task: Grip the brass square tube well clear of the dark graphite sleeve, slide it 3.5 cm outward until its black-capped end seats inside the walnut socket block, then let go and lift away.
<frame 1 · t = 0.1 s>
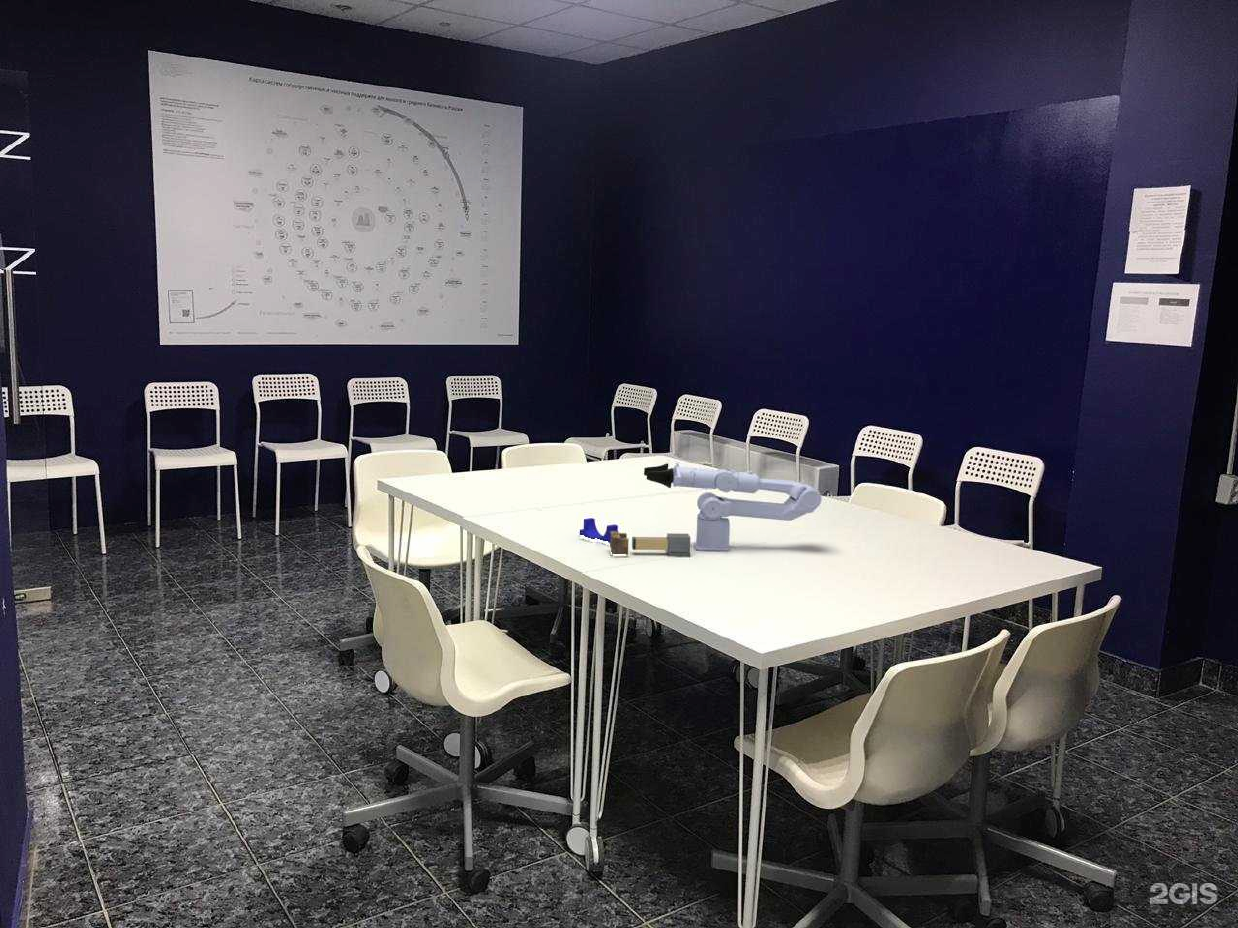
hand: (645, 473, 286), 22 cm above the table, tool horizontal, fingers open, 7 cm apart
cable clip: (598, 543, 294), on the table
sleeve: (677, 554, 282), on the table
socket block: (618, 553, 281), on the table
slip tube: (658, 543, 281), point 3 cm above the table, slide at 0.0 cm
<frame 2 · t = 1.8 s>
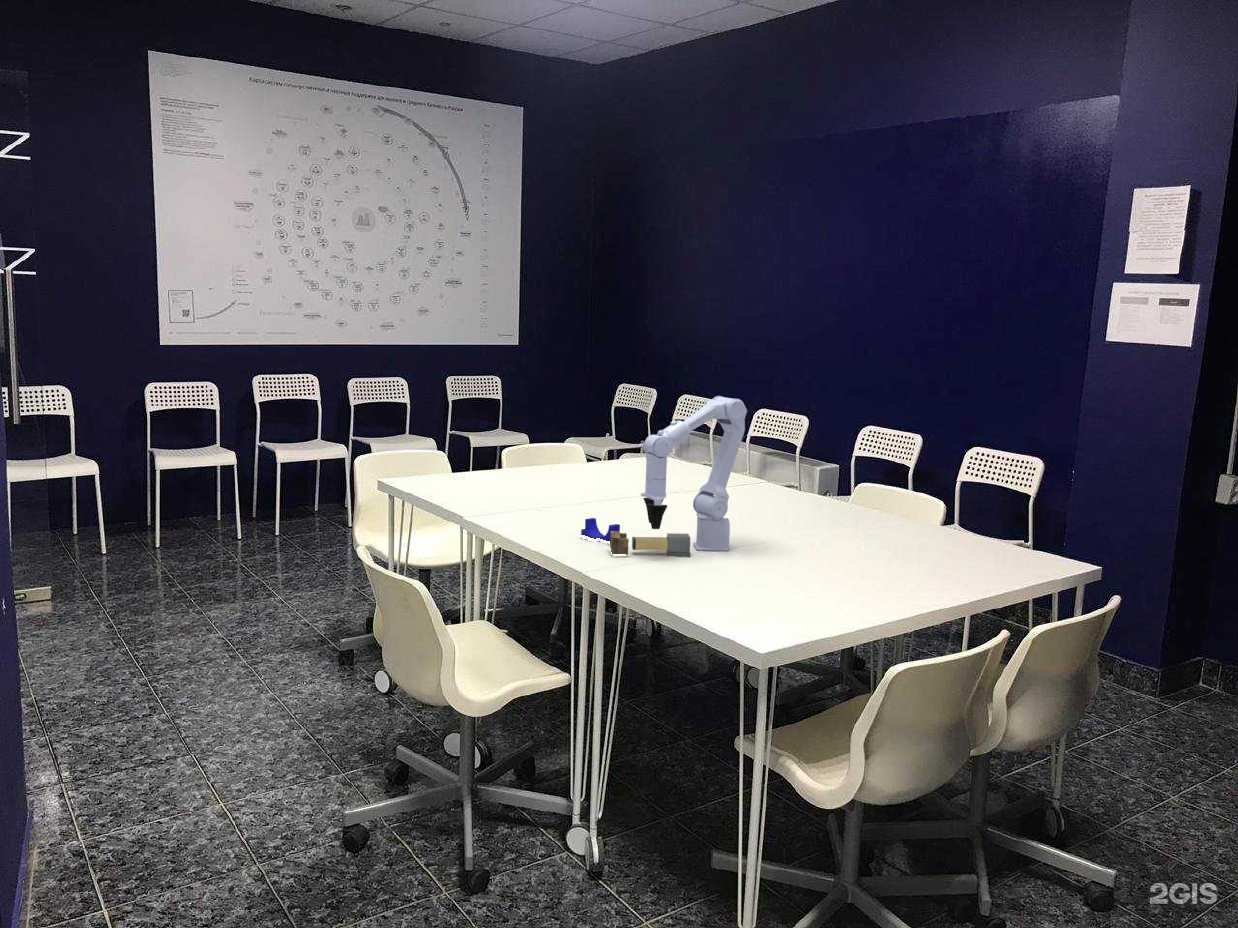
hand: (654, 525, 280), 8 cm above the table, tool pointing down, fingers open, 7 cm apart
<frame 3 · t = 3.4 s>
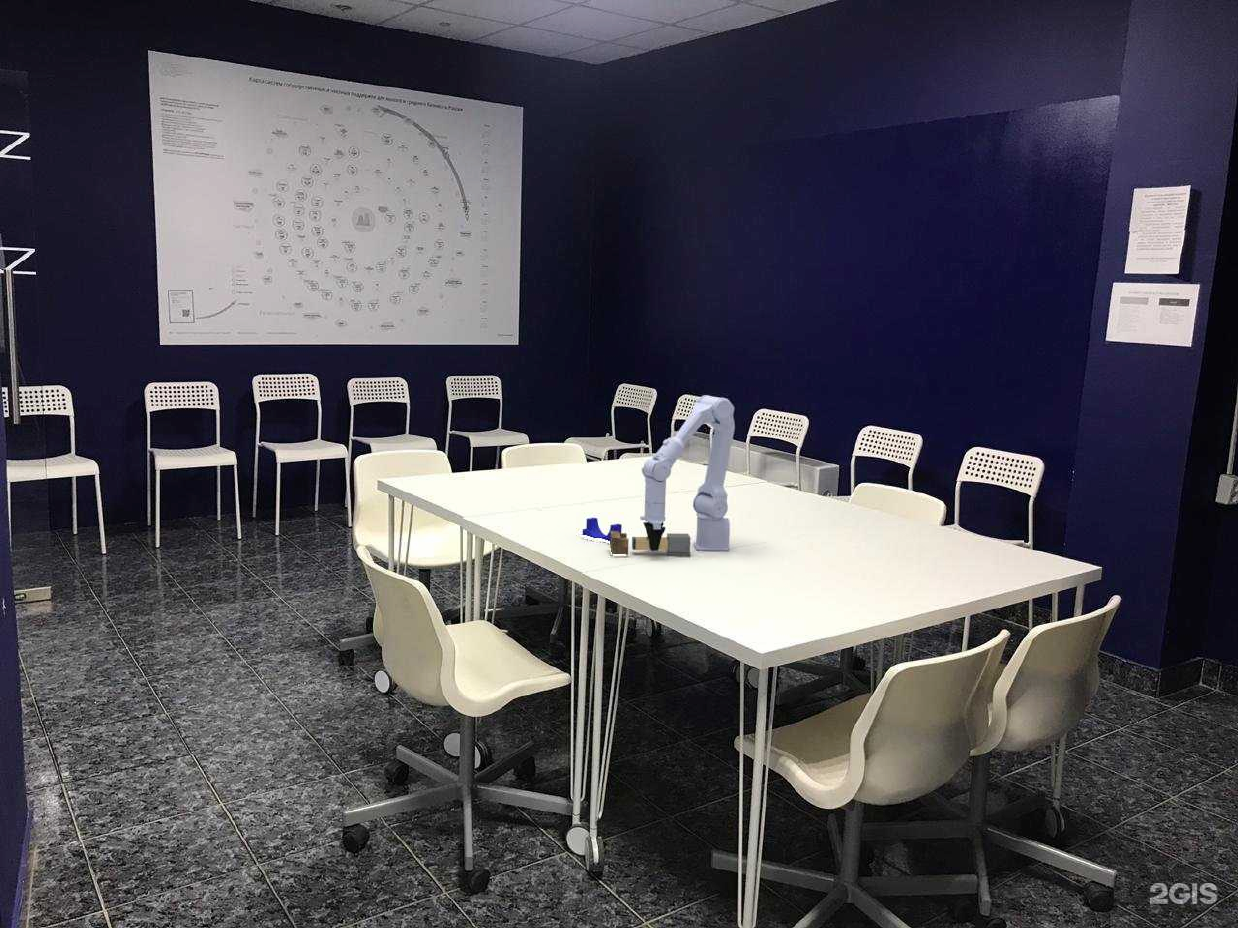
hand: (653, 548, 281), 1 cm above the table, tool pointing down, fingers closed on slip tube, 3 cm apart
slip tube: (658, 543, 281), point 3 cm above the table, slide at 0.0 cm, touching gripper
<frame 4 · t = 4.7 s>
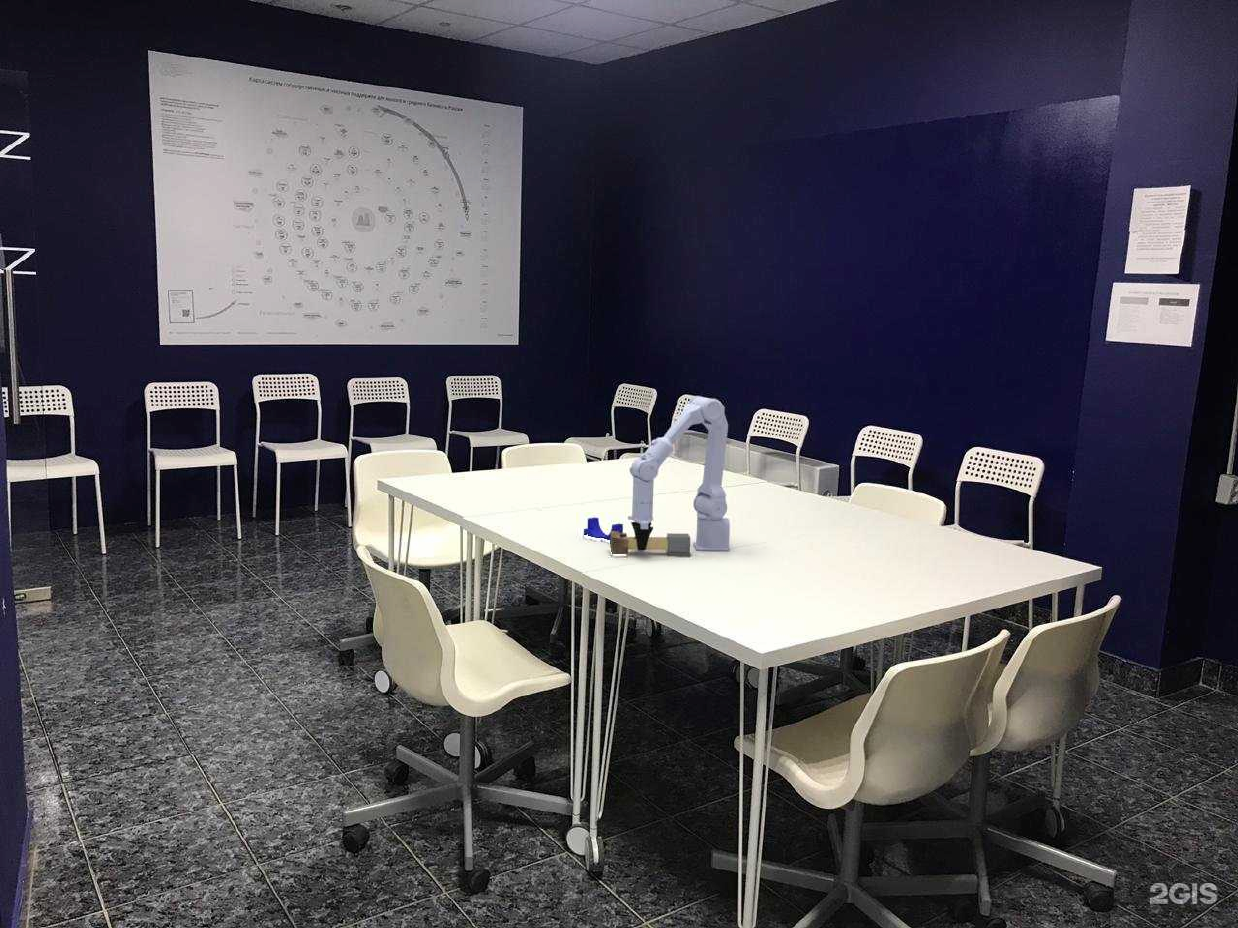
hand: (641, 548, 281), 1 cm above the table, tool pointing down, fingers closed on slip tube, 3 cm apart
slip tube: (645, 543, 281), point 3 cm above the table, slide at 3.5 cm, touching gripper
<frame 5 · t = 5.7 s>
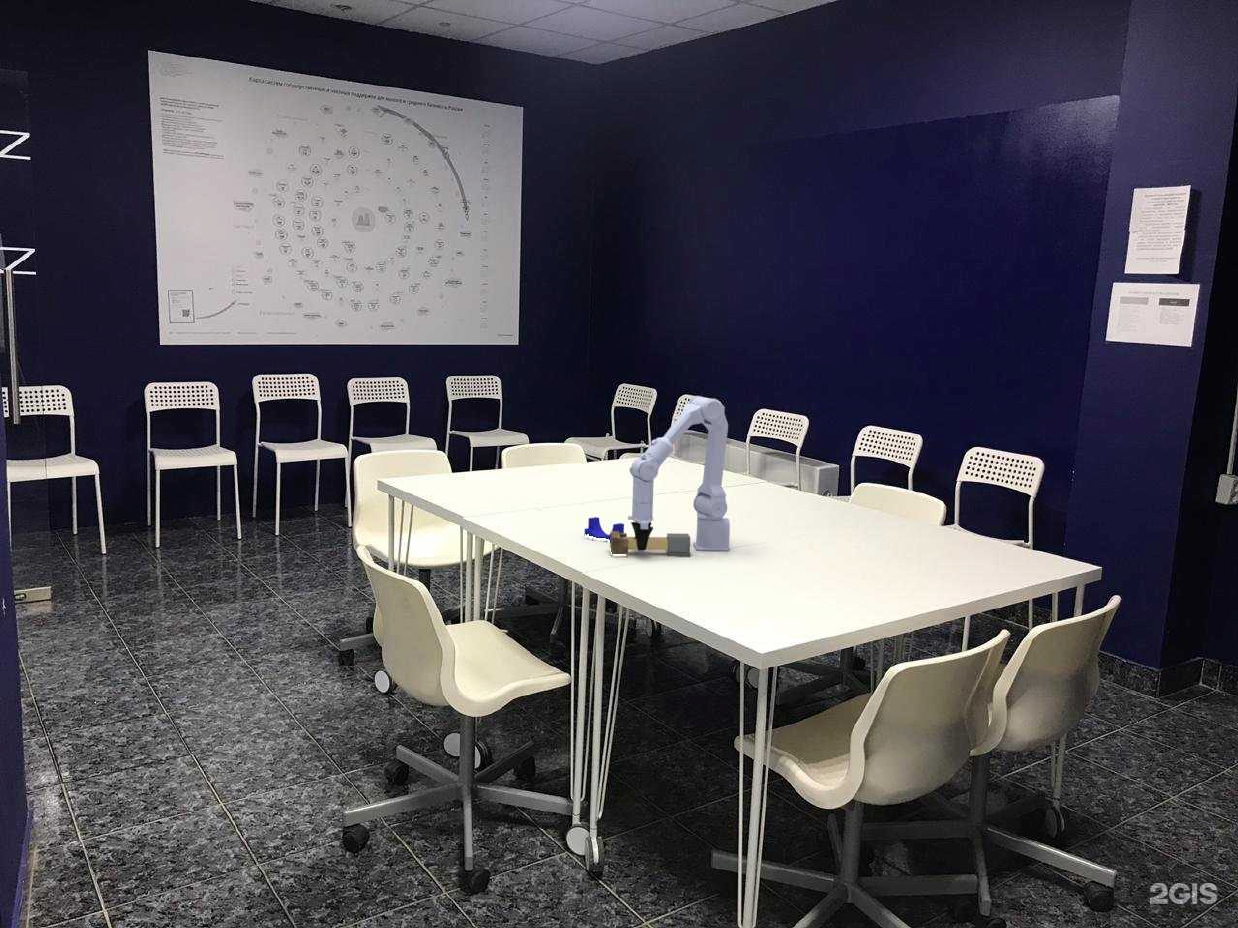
hand: (641, 548, 281), 1 cm above the table, tool pointing down, fingers closed on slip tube, 3 cm apart
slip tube: (645, 543, 281), point 3 cm above the table, slide at 3.5 cm, touching gripper
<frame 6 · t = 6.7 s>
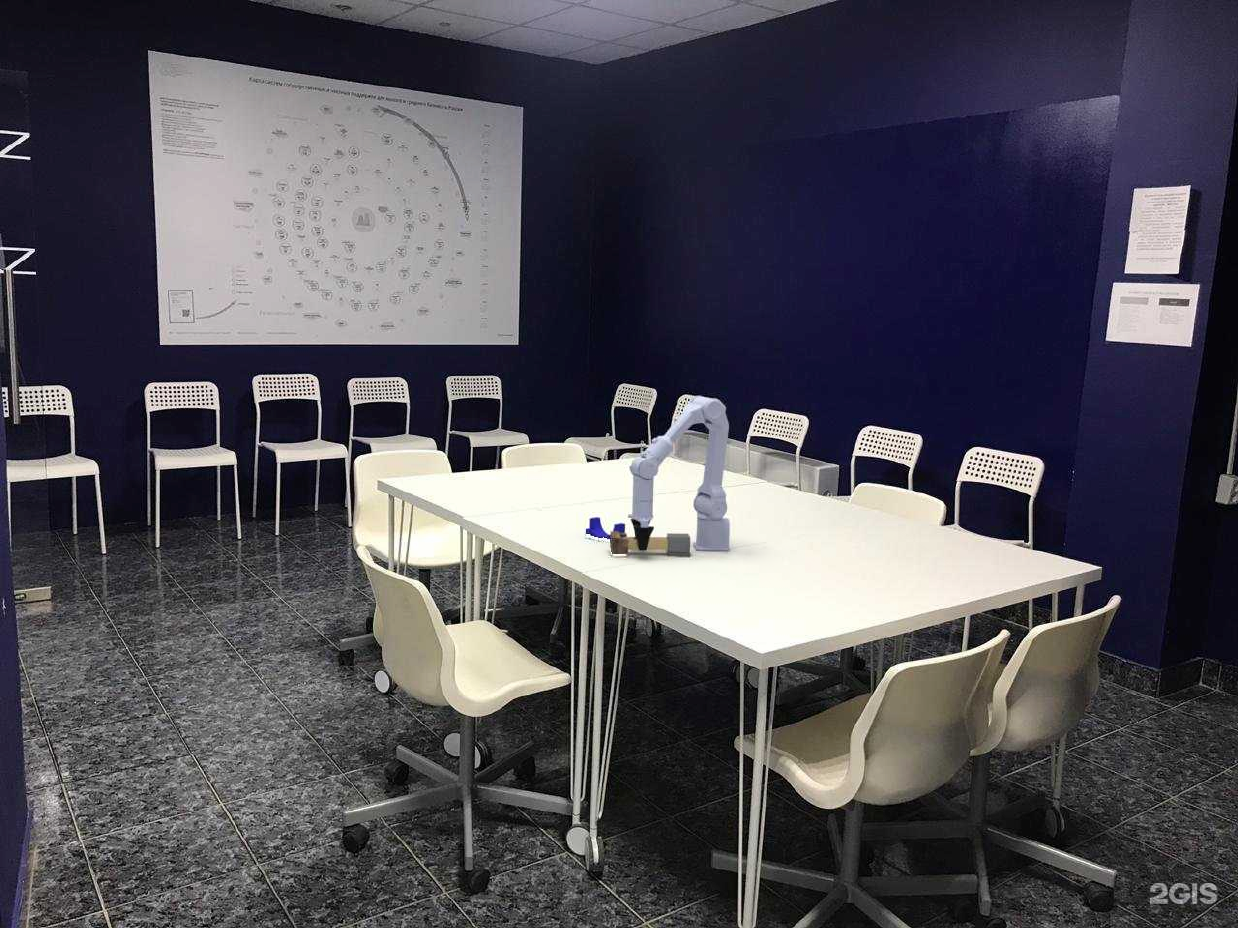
hand: (641, 547, 281), 2 cm above the table, tool pointing down, fingers open, 7 cm apart
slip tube: (645, 543, 281), point 3 cm above the table, slide at 3.5 cm
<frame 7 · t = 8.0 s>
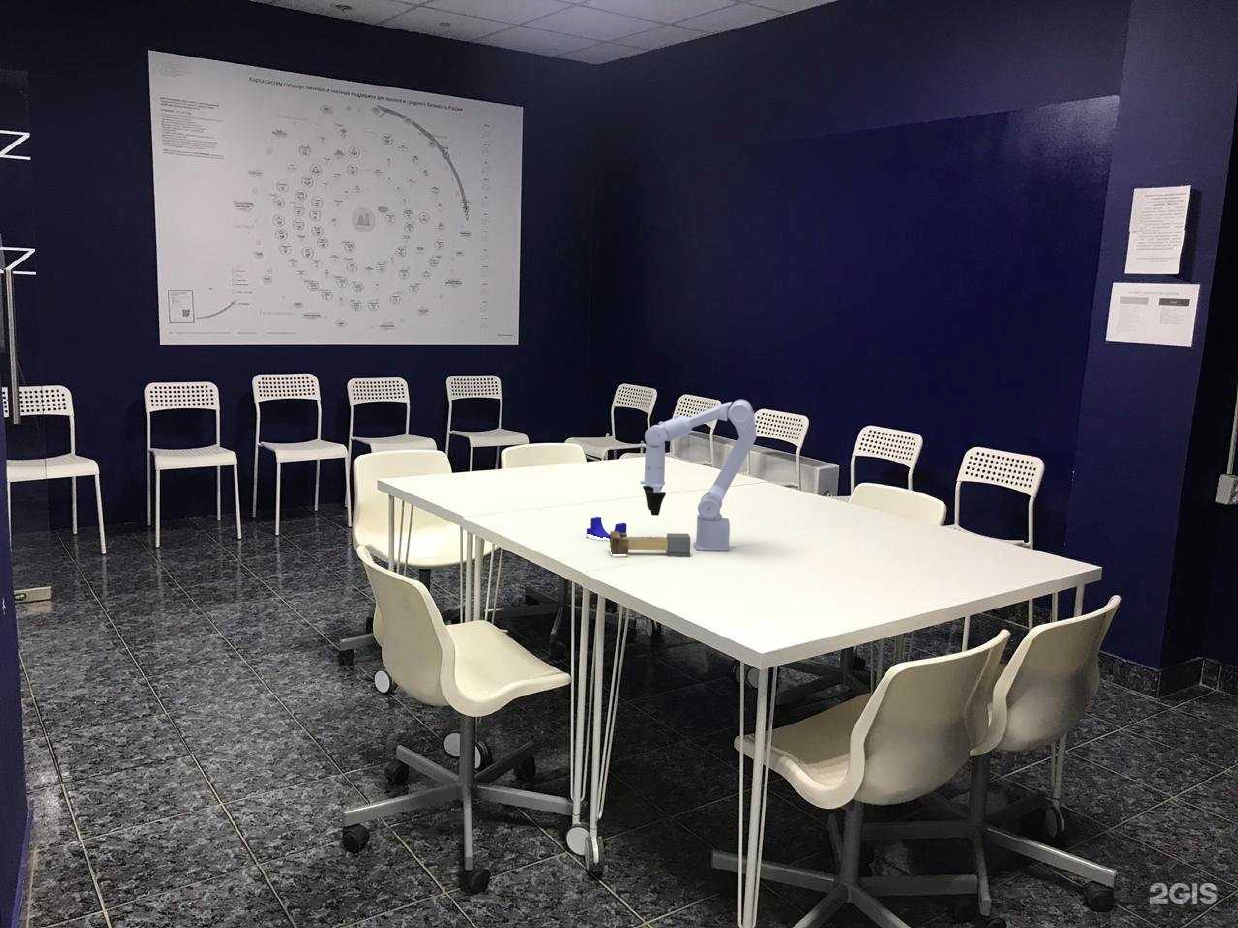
hand: (653, 512, 292), 9 cm above the table, tool pointing down, fingers open, 7 cm apart
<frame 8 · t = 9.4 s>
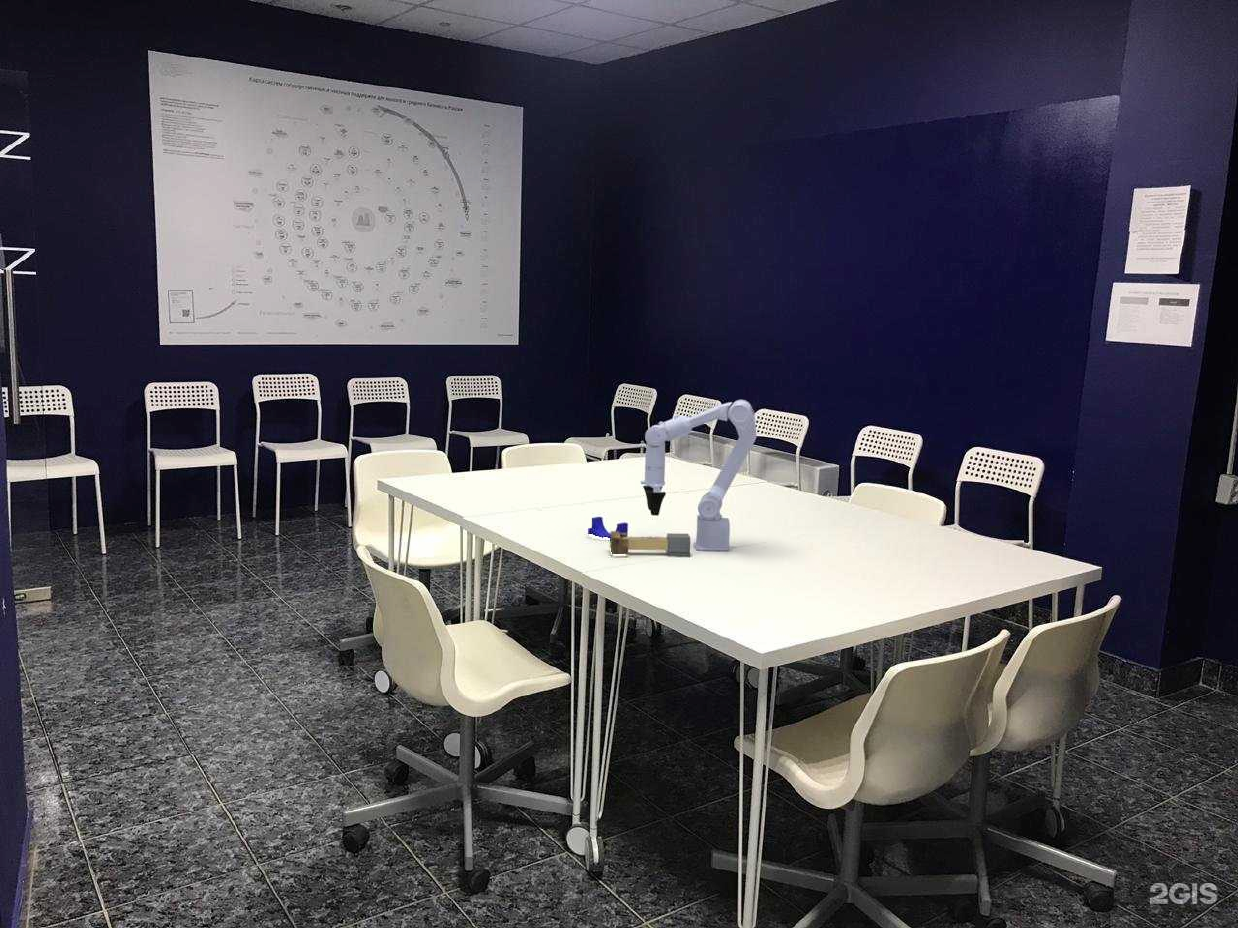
hand: (653, 512, 292), 9 cm above the table, tool pointing down, fingers open, 7 cm apart
at the end: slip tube slide at 3.5 cm; the gripper is holding nothing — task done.
